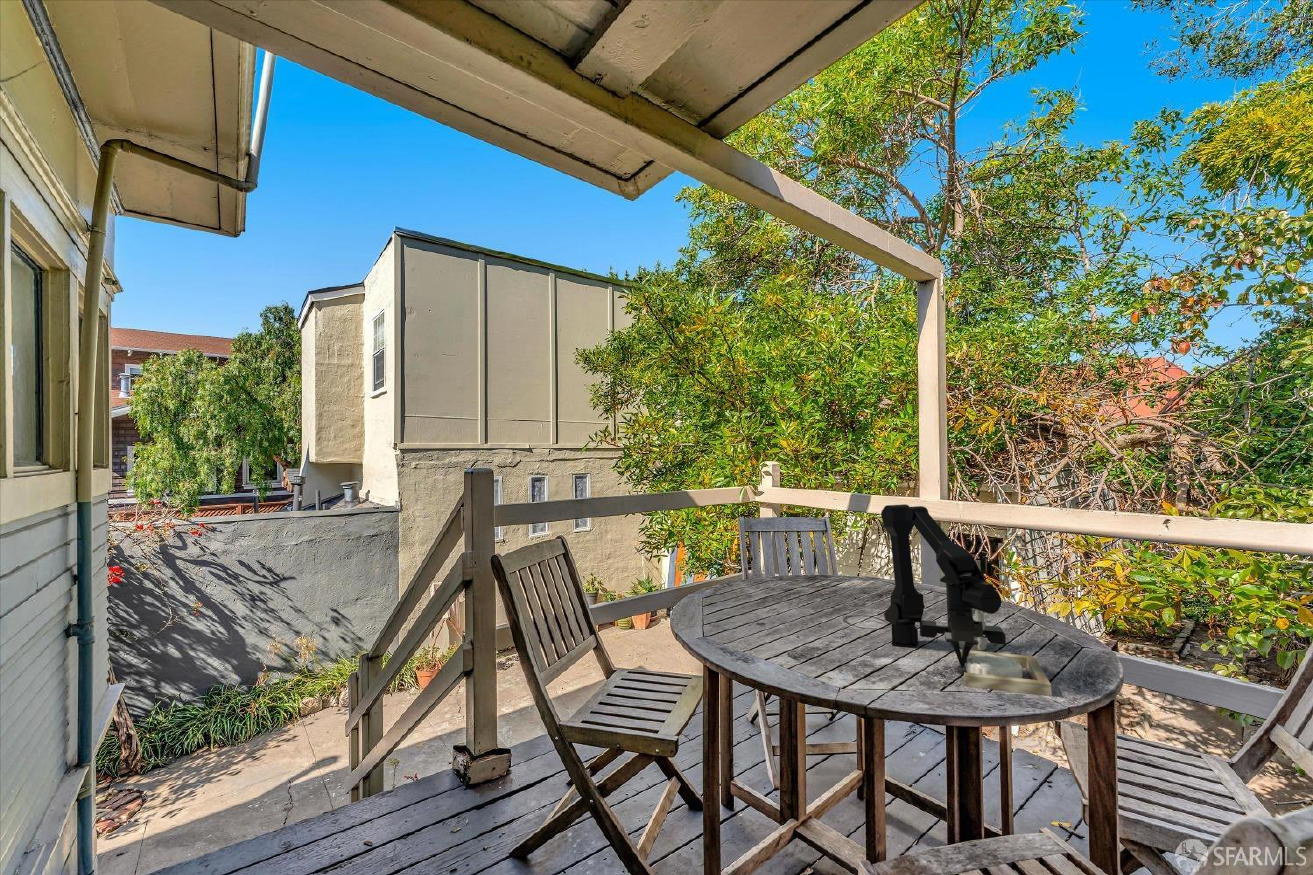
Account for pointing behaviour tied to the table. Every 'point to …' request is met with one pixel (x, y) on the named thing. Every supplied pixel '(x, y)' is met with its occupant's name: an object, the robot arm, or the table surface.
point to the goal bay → (1035, 686)
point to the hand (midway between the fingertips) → (962, 666)
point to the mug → (981, 640)
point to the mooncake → (993, 666)
